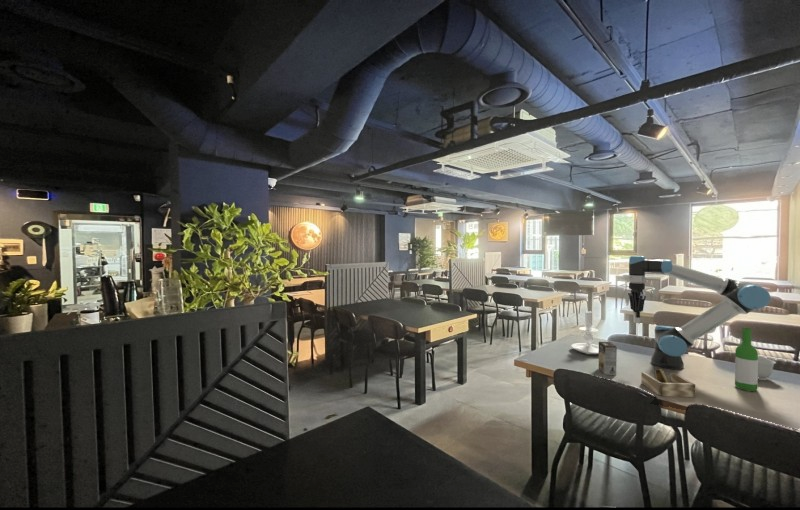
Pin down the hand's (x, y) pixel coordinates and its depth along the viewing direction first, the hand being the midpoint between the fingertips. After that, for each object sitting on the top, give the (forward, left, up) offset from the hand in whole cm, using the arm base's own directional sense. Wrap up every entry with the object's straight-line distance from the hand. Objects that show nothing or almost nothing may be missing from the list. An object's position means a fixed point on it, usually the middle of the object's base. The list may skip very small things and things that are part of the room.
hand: (636, 322), depth 191 cm
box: (+3, +30, -26) cm, 40 cm away
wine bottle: (-36, +26, -27) cm, 52 cm away
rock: (+3, +27, -27) cm, 38 cm away
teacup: (-55, +11, -27) cm, 62 cm away
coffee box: (+20, +8, -27) cm, 34 cm away
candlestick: (+16, -24, -27) cm, 39 cm away
